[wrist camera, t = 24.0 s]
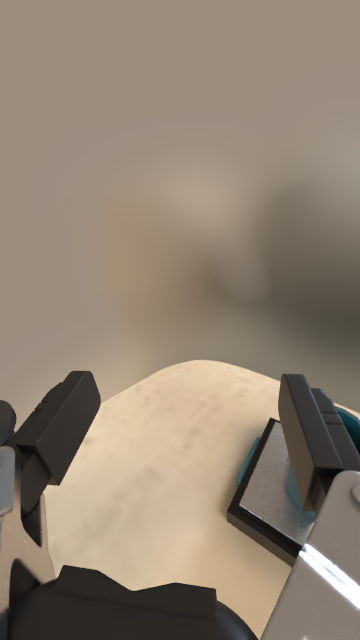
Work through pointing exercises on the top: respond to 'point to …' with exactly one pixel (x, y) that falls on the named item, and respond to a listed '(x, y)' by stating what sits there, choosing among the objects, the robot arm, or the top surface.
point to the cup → (356, 430)
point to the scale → (269, 499)
